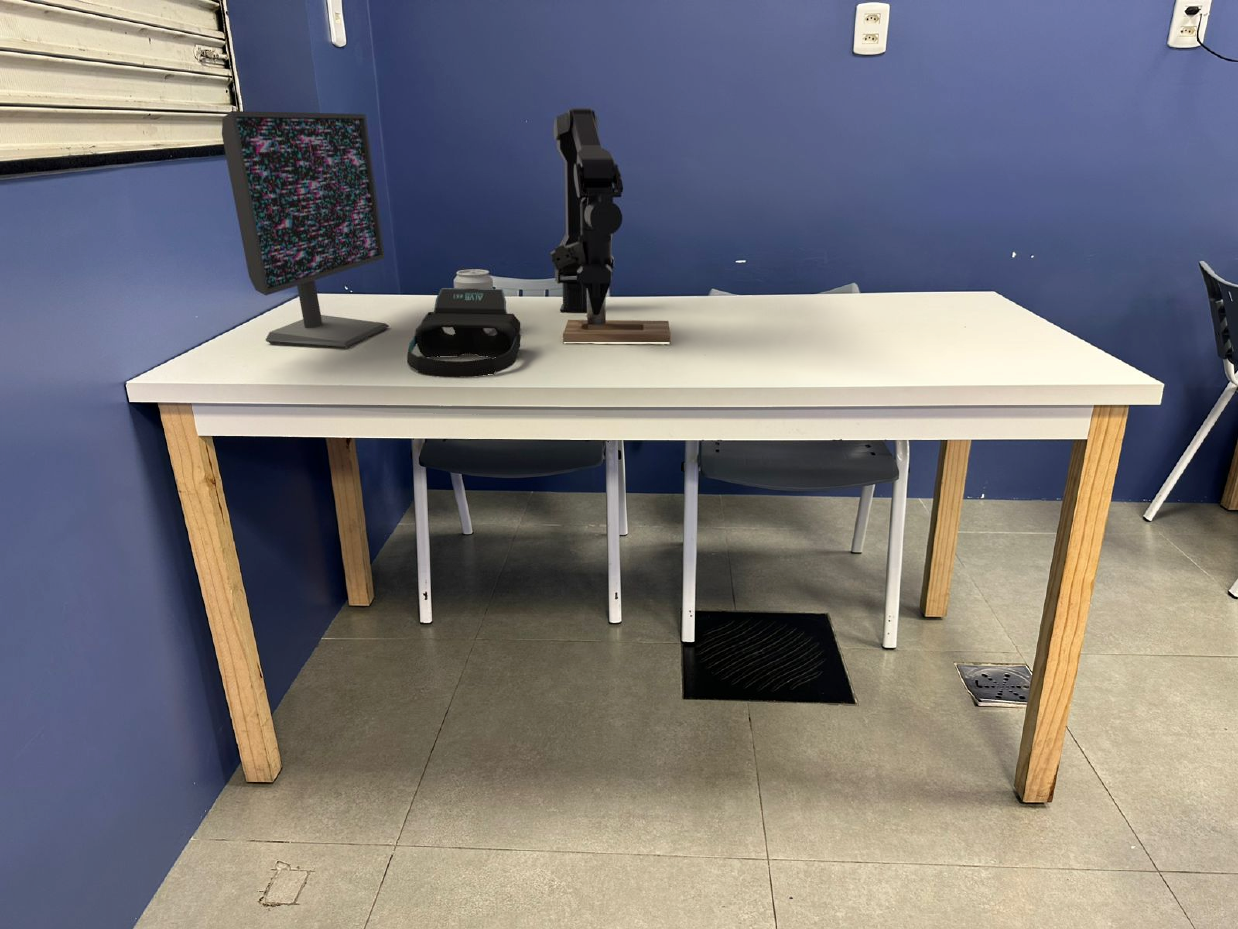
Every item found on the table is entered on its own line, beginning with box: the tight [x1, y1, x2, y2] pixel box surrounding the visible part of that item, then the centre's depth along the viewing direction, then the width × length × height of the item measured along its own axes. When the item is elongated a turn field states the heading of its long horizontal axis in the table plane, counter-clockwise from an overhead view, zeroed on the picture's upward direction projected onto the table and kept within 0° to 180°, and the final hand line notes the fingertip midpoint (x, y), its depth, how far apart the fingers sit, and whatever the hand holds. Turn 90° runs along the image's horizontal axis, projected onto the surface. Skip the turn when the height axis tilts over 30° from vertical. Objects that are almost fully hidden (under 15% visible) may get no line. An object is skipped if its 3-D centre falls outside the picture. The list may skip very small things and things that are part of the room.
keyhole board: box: [562, 319, 671, 343], centre depth 166 cm, size 12×20×2 cm, turn 88°
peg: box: [586, 290, 607, 325], centre depth 164 cm, size 4×4×8 cm
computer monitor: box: [221, 110, 390, 349], centre depth 158 cm, size 44×16×40 cm, turn 168°
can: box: [453, 268, 494, 335], centre depth 167 cm, size 8×8×12 cm
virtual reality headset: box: [406, 287, 522, 378], centre depth 148 cm, size 19×22×10 cm
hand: (596, 312), depth 165 cm, fingers closed on peg, 4 cm apart
